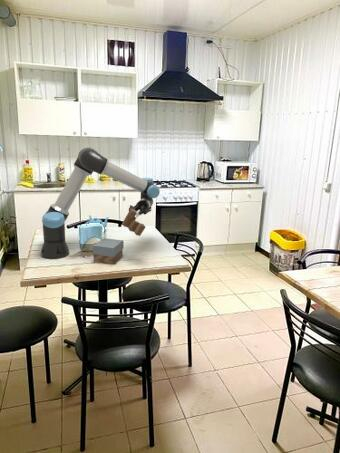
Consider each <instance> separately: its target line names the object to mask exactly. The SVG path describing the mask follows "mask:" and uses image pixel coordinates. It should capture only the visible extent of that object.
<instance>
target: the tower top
mask: <svg viewBox="0 0 340 453" xmlns="http://www.w3.org/2000/svg"><path fill="white" fill-rule="evenodd" d="M122 249H123V250H124V240H122V239H115V238H106V237H104V238H102V239H100V240H99V241H97V242H96V243H94V244H93V245H92V254H93V255H94V254H95V255H103V256H110V257H114V256H115V255H116V254H118V253H119V252H120V251H121V250H122Z"/></svg>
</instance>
